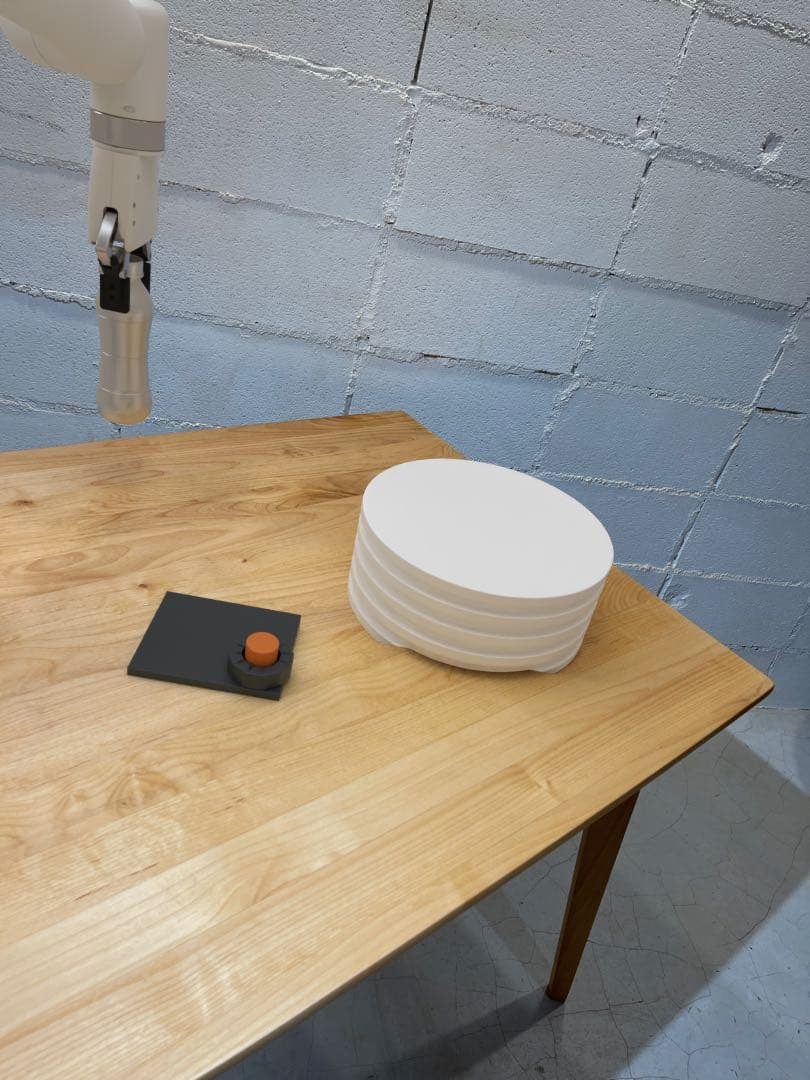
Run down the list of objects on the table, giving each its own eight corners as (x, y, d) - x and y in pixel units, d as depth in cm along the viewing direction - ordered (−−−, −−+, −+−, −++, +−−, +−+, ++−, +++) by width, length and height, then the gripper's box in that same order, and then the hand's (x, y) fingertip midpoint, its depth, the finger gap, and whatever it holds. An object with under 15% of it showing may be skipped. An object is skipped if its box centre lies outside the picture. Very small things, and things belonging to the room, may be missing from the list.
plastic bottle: (138, 435, 99) (142, 270, 89) (85, 422, 100) (83, 256, 89) (160, 416, 105) (166, 259, 95) (109, 404, 105) (110, 245, 95)
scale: (126, 685, 75) (126, 652, 73) (166, 607, 85) (167, 576, 83) (282, 712, 76) (287, 680, 73) (303, 631, 86) (307, 601, 84)
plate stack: (622, 616, 99) (655, 537, 93) (497, 727, 79) (528, 636, 73) (442, 513, 112) (461, 439, 106) (296, 586, 92) (308, 499, 86)
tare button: (241, 664, 75) (243, 649, 74) (248, 643, 77) (250, 629, 76) (274, 670, 75) (275, 655, 74) (280, 649, 77) (281, 634, 76)
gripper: (121, 119, 93) (119, 278, 102) (58, 133, 78) (62, 316, 87) (187, 134, 93) (179, 290, 102) (136, 150, 78) (132, 331, 87)
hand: (125, 301), depth 95 cm, fingers closed on plastic bottle, 6 cm apart
